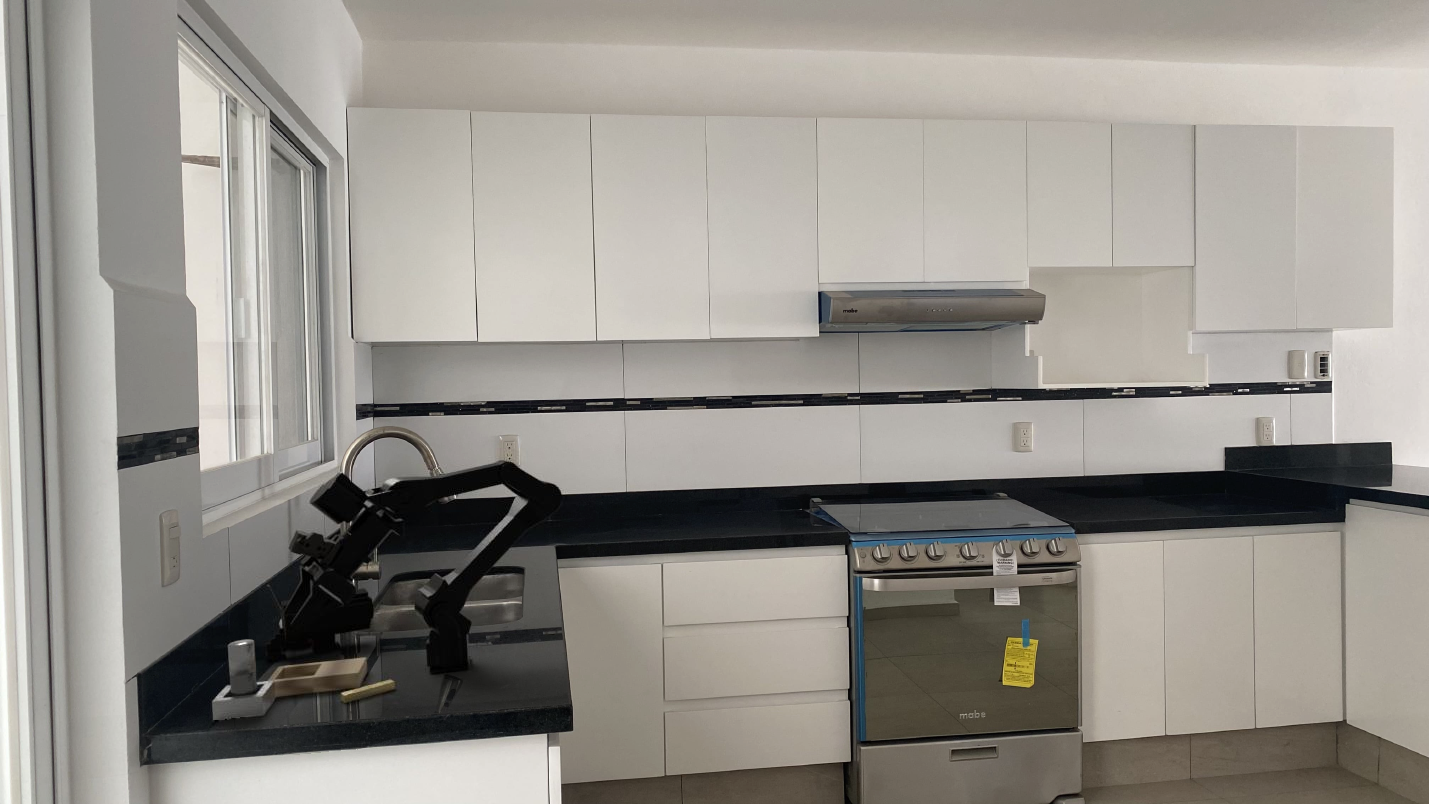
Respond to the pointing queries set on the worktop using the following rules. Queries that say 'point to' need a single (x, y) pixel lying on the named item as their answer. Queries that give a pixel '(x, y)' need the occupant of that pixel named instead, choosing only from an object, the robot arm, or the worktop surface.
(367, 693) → the bar
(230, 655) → the tin canister
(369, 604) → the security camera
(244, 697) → the socket block
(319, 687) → the wooden box
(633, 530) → the worktop surface
